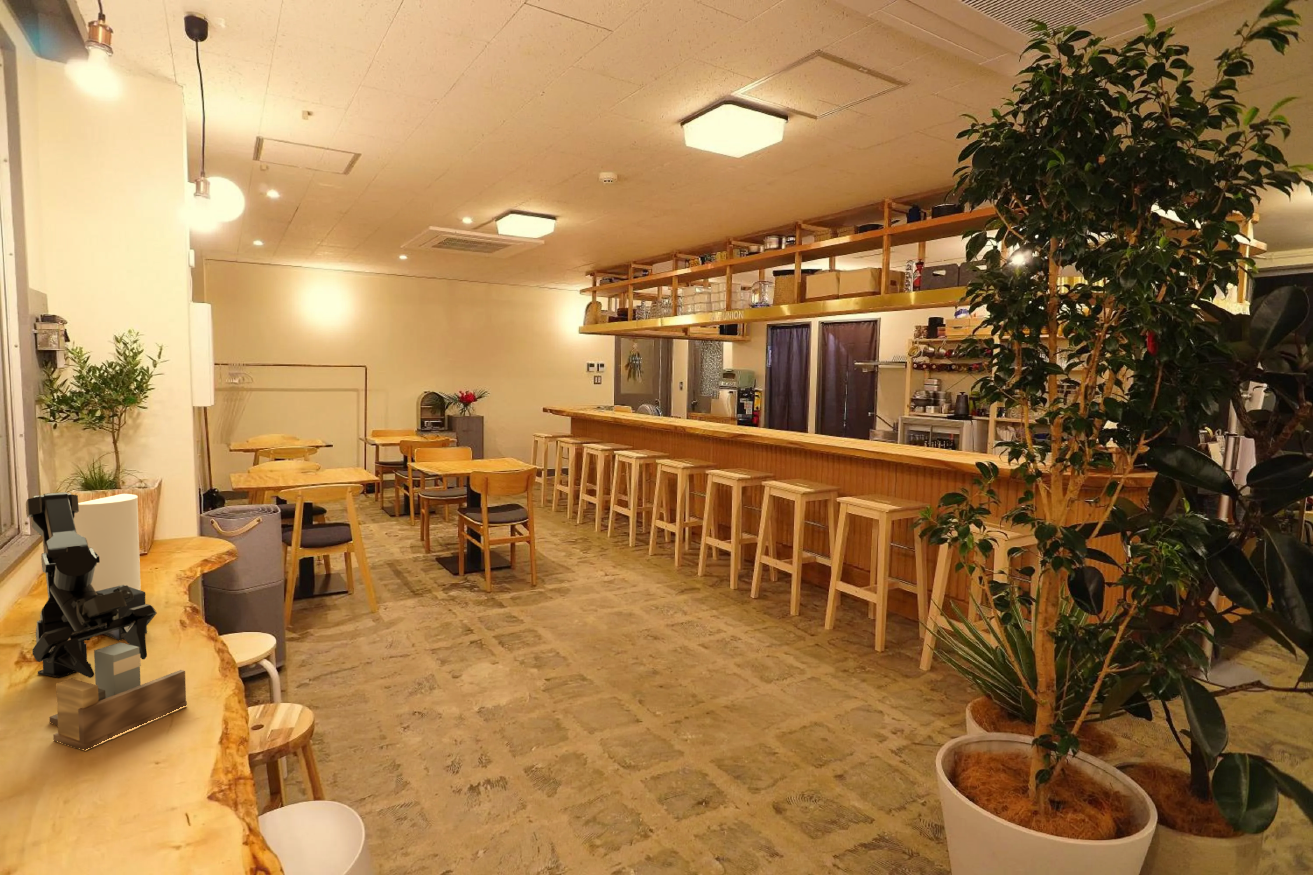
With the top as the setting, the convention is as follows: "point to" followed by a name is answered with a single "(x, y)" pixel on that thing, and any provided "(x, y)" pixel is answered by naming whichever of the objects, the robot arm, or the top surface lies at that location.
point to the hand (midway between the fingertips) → (119, 666)
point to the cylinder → (112, 539)
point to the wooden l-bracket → (112, 708)
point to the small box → (124, 608)
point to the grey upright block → (117, 668)
